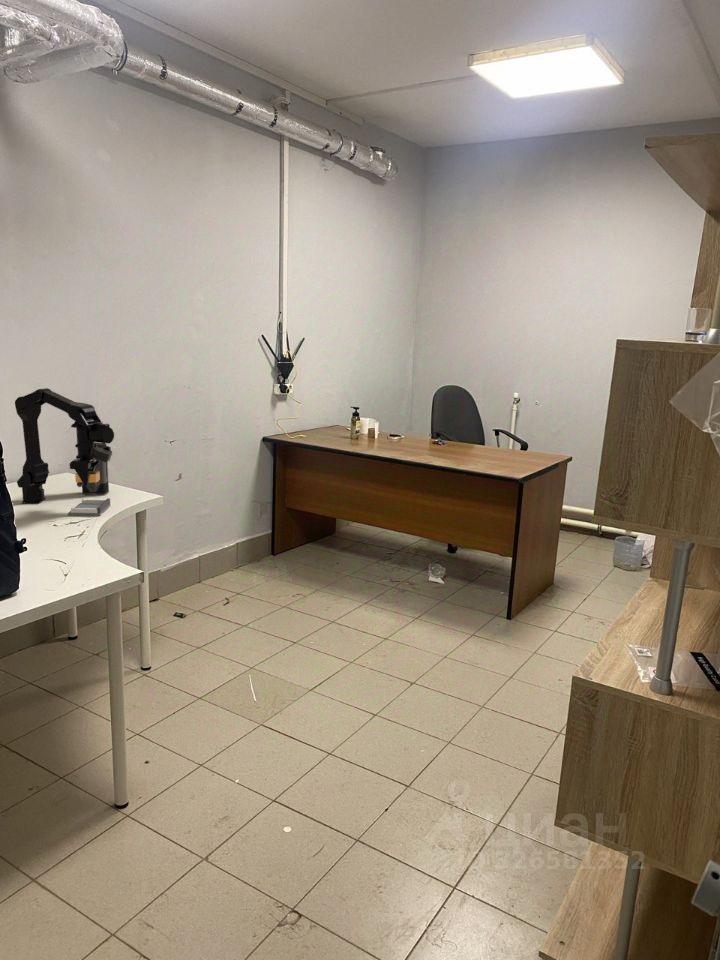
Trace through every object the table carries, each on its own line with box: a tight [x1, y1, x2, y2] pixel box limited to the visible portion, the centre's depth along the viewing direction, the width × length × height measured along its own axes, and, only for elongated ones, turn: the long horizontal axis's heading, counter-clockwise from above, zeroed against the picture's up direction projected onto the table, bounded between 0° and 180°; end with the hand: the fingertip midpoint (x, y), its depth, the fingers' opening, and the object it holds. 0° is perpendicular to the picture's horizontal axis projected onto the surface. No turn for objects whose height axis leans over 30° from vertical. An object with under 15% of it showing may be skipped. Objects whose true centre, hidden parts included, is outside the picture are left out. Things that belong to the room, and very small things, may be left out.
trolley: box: [74, 471, 100, 488], centre depth 246 cm, size 7×5×5 cm
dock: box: [67, 498, 111, 517], centre depth 248 cm, size 11×13×3 cm
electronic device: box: [81, 442, 110, 496], centre depth 269 cm, size 9×6×20 cm, turn 92°
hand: (88, 483), depth 246 cm, fingers closed on trolley, 5 cm apart
